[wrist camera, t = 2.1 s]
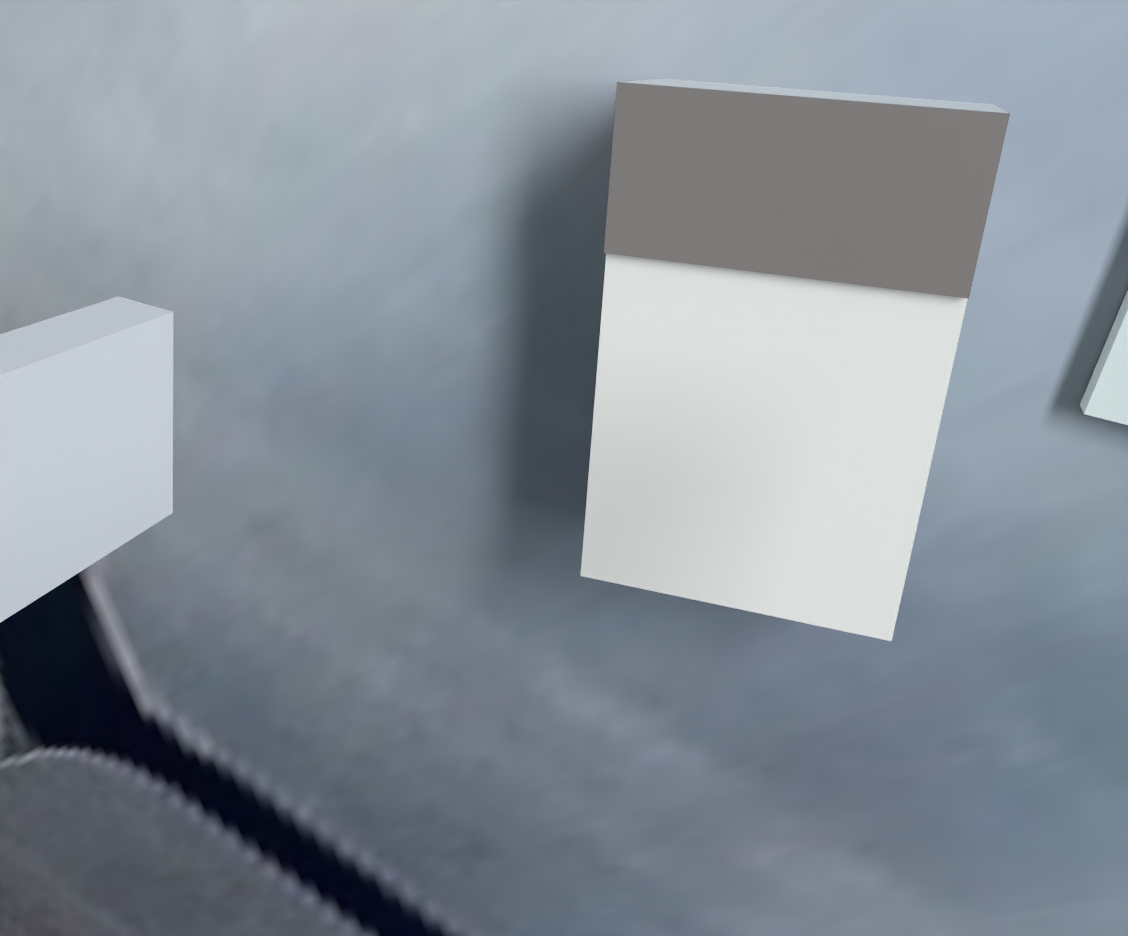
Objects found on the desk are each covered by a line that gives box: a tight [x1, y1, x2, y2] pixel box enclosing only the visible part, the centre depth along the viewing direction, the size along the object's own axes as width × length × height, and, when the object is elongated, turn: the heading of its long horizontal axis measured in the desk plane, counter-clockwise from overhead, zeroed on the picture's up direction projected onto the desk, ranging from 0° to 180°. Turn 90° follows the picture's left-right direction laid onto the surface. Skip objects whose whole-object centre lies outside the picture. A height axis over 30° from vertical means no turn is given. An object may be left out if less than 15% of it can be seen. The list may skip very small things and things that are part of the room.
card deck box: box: [581, 79, 1010, 641], centre depth 21 cm, size 10×6×4 cm, turn 176°
